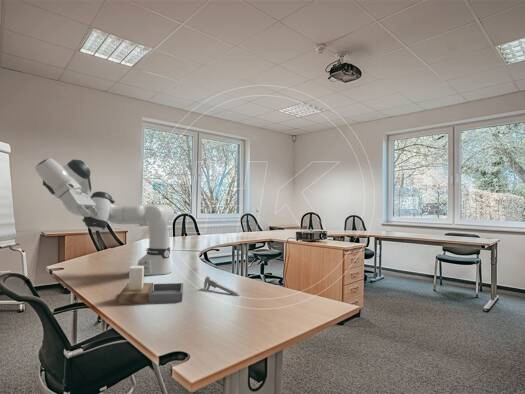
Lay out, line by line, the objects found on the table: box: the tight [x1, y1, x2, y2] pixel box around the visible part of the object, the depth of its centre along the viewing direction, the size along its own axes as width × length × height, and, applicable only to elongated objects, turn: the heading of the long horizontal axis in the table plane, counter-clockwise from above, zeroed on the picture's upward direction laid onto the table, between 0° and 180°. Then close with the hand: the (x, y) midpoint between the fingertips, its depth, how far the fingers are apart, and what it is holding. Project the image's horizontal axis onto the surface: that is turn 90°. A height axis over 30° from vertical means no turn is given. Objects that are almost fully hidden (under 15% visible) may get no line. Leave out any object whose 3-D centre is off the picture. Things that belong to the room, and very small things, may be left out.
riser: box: [118, 282, 154, 305], centre depth 135 cm, size 11×16×4 cm
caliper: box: [203, 275, 241, 297], centre depth 147 cm, size 20×1×6 cm, turn 59°
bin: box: [148, 282, 184, 304], centre depth 138 cm, size 13×16×4 cm
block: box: [128, 265, 145, 290], centre depth 135 cm, size 5×5×9 cm
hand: (93, 215), depth 133 cm, fingers open, 8 cm apart
